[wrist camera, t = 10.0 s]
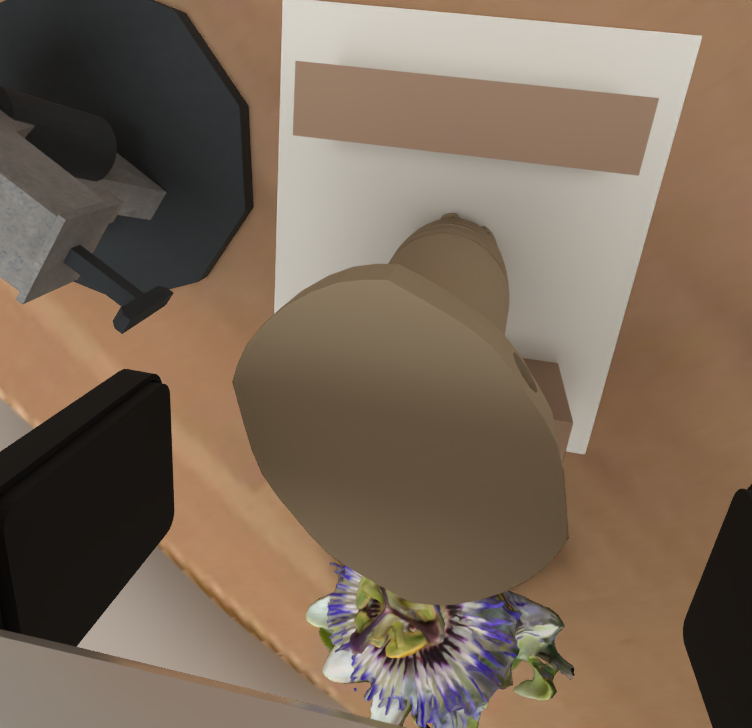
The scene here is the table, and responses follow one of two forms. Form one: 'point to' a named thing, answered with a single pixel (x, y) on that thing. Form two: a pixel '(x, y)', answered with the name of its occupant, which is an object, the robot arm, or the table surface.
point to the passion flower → (434, 650)
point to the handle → (410, 421)
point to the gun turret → (116, 151)
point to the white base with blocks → (482, 163)
